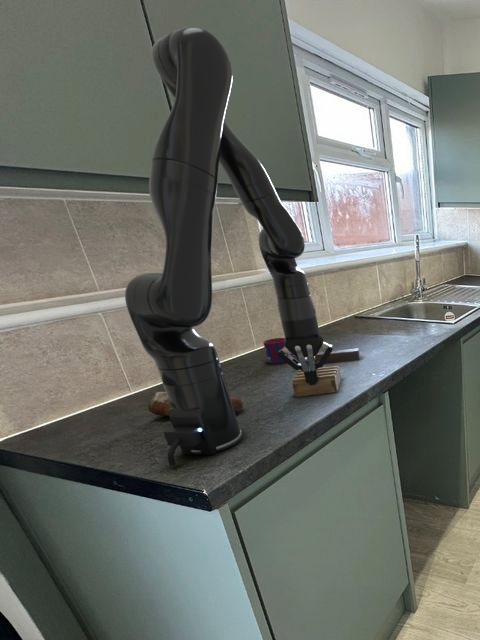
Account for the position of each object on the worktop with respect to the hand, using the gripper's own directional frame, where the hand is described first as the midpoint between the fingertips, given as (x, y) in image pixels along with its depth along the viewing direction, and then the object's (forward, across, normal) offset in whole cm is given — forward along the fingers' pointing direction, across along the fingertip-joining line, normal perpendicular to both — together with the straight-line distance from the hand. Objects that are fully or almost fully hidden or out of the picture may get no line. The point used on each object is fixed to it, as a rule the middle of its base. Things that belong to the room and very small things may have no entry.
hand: (313, 383), depth 104 cm
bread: (+3, -24, -2) cm, 25 cm away
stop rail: (+4, 0, +30) cm, 30 cm away
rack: (+3, 0, +6) cm, 7 cm away
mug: (+4, -14, +37) cm, 40 cm away
